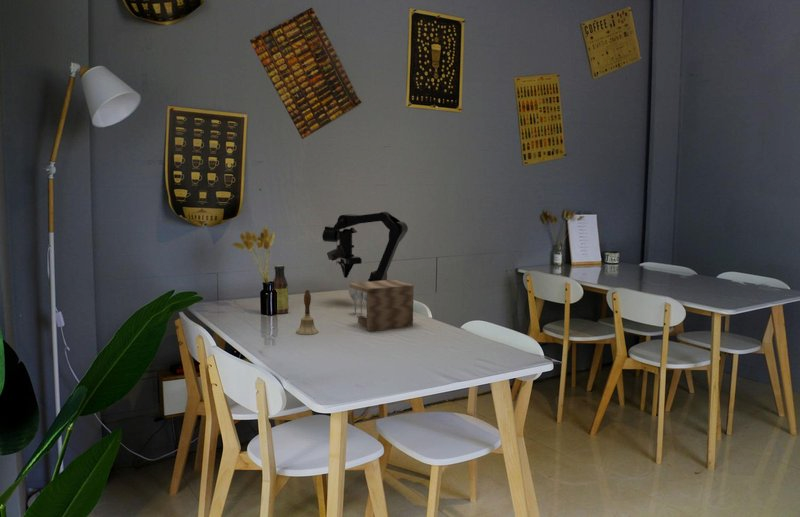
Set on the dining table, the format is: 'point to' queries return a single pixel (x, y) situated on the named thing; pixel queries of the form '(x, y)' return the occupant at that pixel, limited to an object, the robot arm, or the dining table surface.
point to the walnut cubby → (386, 304)
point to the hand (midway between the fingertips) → (345, 277)
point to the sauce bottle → (281, 289)
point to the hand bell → (307, 318)
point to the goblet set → (355, 296)
